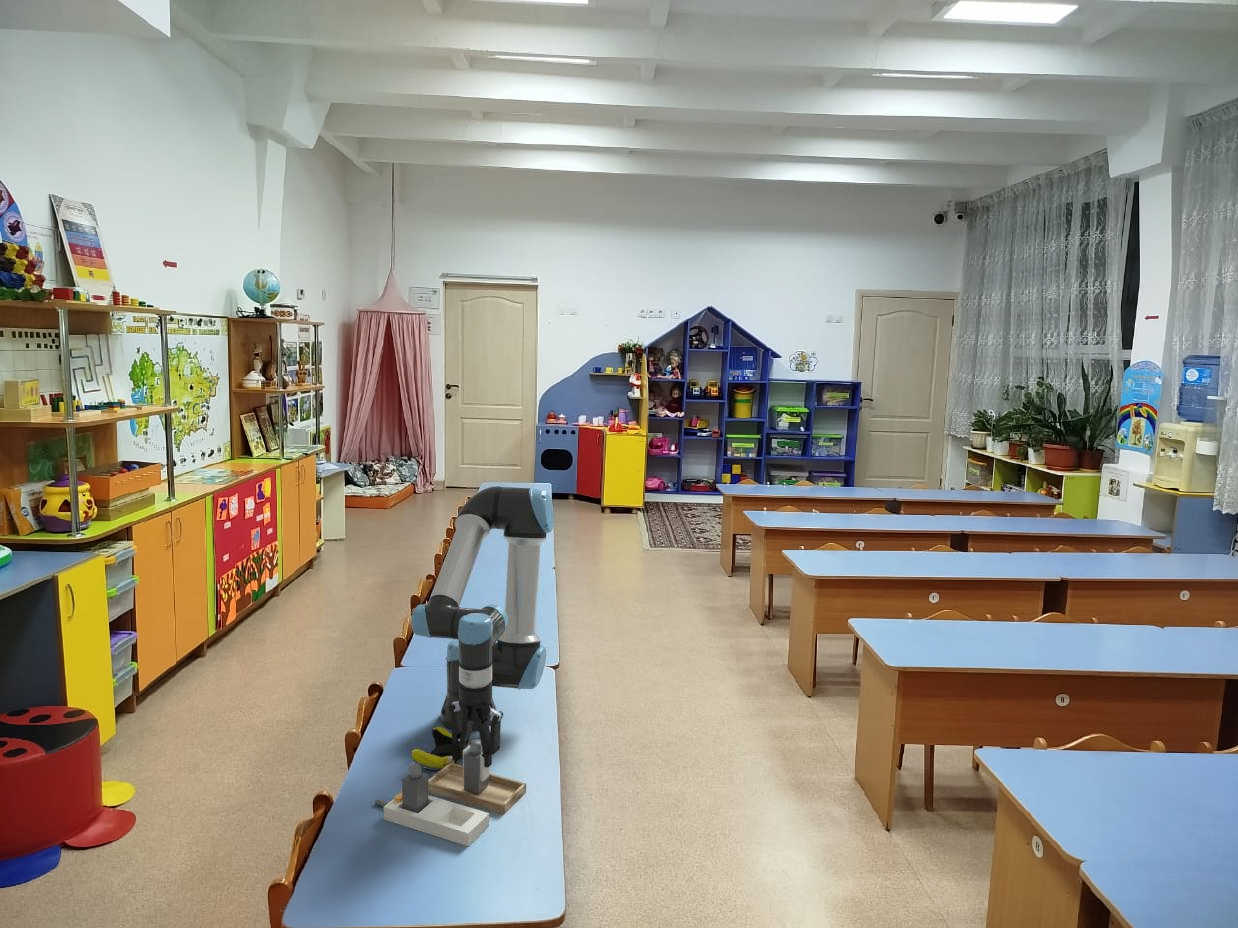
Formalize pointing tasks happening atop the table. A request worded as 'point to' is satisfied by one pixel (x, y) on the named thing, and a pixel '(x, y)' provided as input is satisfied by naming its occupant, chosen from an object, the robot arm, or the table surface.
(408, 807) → the twin plug
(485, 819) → the strip
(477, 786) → the plug
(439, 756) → the gaming controller
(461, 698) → the robot arm
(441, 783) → the tray
